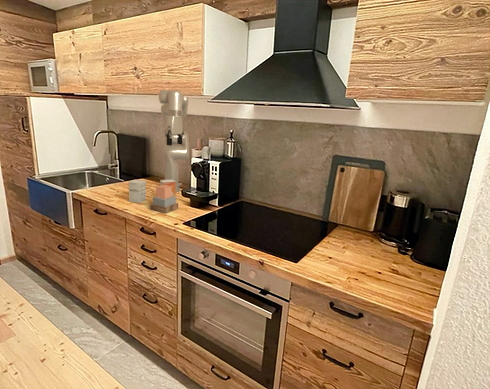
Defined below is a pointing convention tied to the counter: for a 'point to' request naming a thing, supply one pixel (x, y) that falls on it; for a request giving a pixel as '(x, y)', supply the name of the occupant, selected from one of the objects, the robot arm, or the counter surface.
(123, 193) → the counter surface
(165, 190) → the terracotta block
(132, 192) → the supplement box
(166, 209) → the tower bottom
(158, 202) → the tower top
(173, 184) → the small box
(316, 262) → the counter surface
